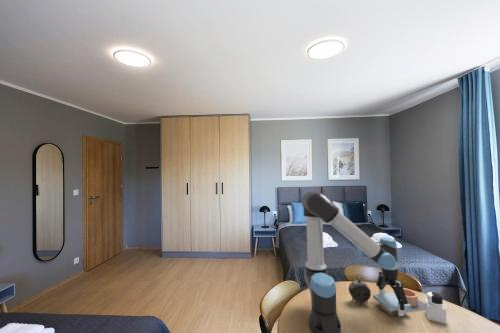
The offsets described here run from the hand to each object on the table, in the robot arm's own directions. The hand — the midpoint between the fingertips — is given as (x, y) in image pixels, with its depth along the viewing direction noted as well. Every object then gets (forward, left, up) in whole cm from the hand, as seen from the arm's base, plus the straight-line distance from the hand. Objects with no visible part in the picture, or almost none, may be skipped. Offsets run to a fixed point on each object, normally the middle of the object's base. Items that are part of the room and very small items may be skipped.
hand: (391, 308), depth 117 cm
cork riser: (0, 0, -1) cm, 1 cm away
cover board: (0, 0, +3) cm, 3 cm away
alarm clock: (-12, +9, -2) cm, 15 cm away
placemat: (+14, +5, -1) cm, 15 cm away
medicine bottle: (+17, -9, -2) cm, 19 cm away
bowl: (+14, +5, -1) cm, 15 cm away
